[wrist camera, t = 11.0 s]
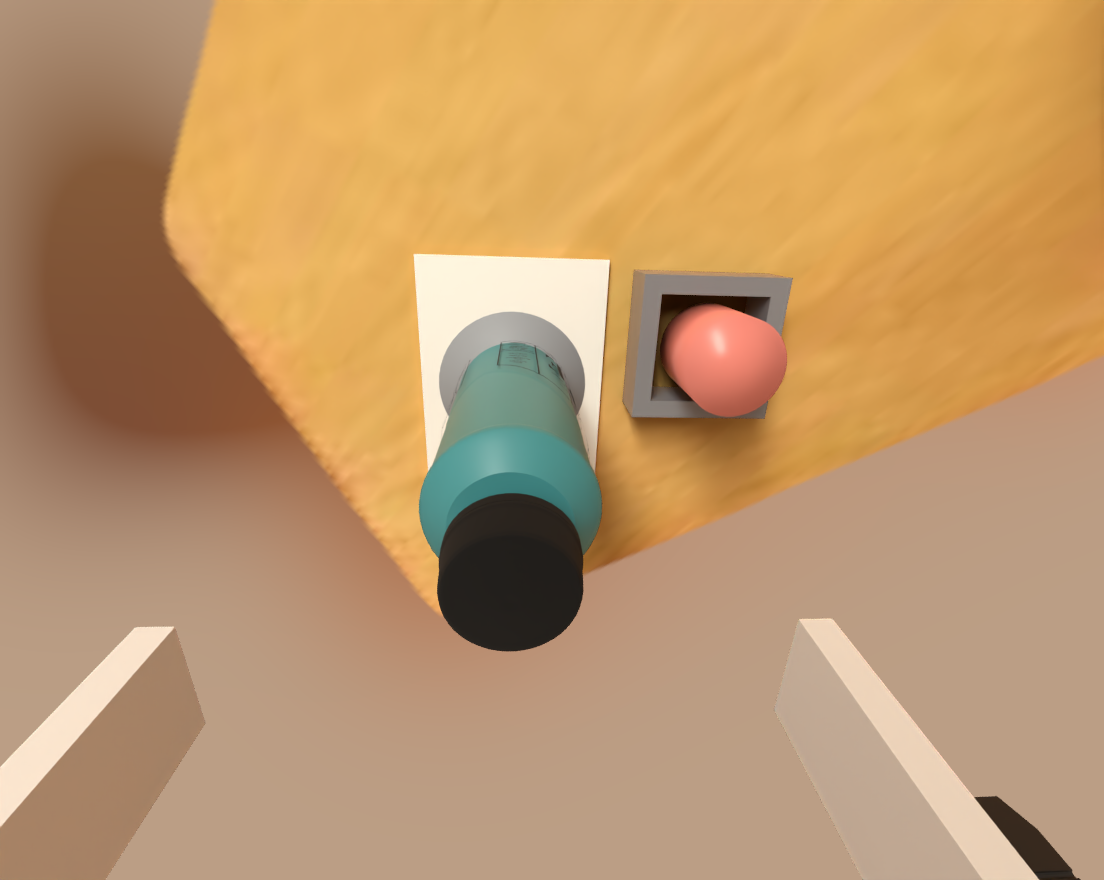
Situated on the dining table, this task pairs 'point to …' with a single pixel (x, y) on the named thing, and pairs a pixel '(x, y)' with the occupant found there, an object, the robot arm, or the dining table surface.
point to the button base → (648, 286)
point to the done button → (723, 358)
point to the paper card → (510, 326)
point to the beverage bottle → (511, 502)
